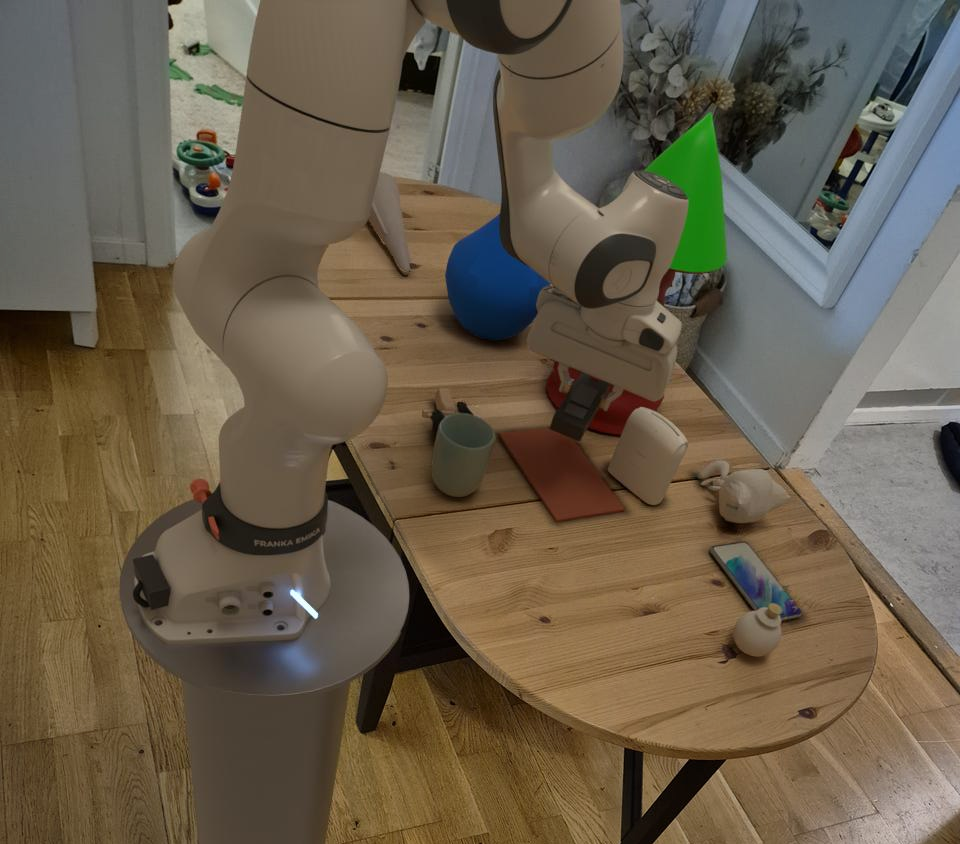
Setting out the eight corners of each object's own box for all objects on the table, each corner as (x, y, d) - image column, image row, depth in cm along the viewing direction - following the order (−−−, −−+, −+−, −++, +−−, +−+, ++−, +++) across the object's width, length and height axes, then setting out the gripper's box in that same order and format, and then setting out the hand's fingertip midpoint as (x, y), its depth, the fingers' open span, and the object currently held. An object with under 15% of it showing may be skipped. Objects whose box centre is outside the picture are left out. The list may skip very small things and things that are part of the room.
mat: (556, 522, 119) (556, 519, 119) (498, 435, 129) (498, 432, 129) (623, 511, 124) (624, 508, 124) (562, 428, 134) (563, 425, 134)
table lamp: (678, 420, 143) (811, 140, 109) (600, 449, 133) (720, 150, 99) (601, 358, 151) (703, 78, 117) (522, 381, 140) (609, 81, 107)
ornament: (718, 632, 112) (751, 581, 104) (763, 627, 114) (799, 578, 107) (737, 667, 108) (774, 618, 101) (784, 662, 111) (823, 614, 103)
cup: (491, 491, 120) (507, 436, 113) (455, 512, 116) (469, 456, 108) (452, 462, 123) (466, 406, 115) (416, 481, 118) (427, 424, 111)
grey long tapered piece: (448, 254, 154) (401, 173, 165) (406, 254, 150) (360, 171, 161) (438, 291, 160) (393, 210, 171) (397, 291, 157) (354, 208, 167)
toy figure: (408, 405, 130) (441, 464, 121) (418, 370, 125) (453, 427, 117) (448, 408, 133) (484, 464, 124) (459, 373, 129) (497, 429, 120)
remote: (579, 442, 113) (585, 427, 111) (549, 429, 113) (553, 414, 112) (608, 391, 123) (614, 377, 121) (580, 379, 123) (585, 365, 121)
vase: (532, 308, 157) (579, 139, 135) (539, 362, 145) (592, 187, 123) (437, 290, 154) (469, 114, 131) (437, 344, 142) (472, 160, 120)
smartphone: (746, 540, 124) (805, 613, 116) (743, 544, 125) (801, 617, 117) (708, 545, 121) (766, 621, 113) (706, 549, 122) (763, 625, 114)
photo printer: (601, 470, 129) (629, 403, 120) (619, 462, 132) (647, 396, 122) (649, 509, 125) (681, 444, 116) (666, 500, 128) (699, 436, 119)
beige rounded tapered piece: (673, 506, 134) (734, 533, 122) (679, 456, 131) (743, 478, 118) (720, 501, 138) (785, 526, 126) (727, 451, 134) (795, 472, 122)
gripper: (535, 288, 105) (509, 381, 116) (683, 349, 104) (644, 438, 114) (550, 270, 109) (524, 361, 120) (693, 328, 108) (654, 416, 118)
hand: (583, 399), depth 117 cm, fingers closed on remote, 4 cm apart
